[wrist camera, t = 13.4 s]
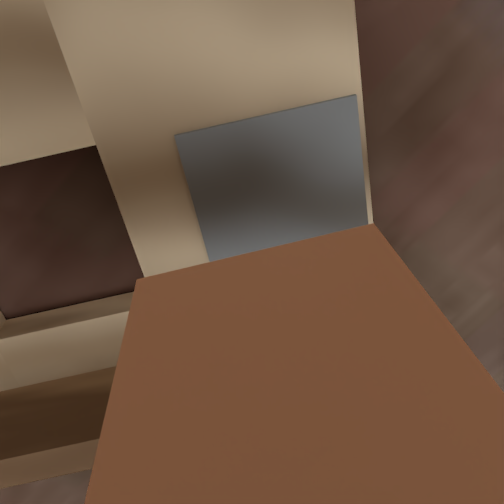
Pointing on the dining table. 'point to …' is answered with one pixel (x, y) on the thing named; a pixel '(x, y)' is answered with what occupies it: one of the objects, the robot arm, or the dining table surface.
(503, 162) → the dining table surface
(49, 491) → the dining table surface
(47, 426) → the puzzle board
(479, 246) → the dining table surface
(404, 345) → the block
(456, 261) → the dining table surface
